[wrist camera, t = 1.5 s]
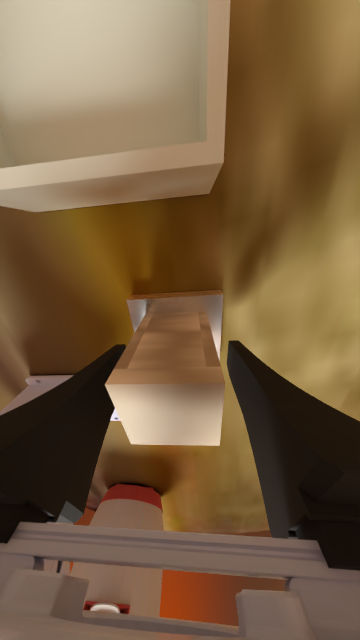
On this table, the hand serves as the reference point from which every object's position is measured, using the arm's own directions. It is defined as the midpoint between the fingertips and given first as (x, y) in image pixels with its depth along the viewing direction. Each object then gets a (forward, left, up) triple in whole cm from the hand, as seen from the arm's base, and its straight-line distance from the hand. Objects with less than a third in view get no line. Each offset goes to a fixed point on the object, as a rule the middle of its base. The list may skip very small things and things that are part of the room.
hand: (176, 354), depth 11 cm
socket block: (0, 0, -2) cm, 2 cm away
